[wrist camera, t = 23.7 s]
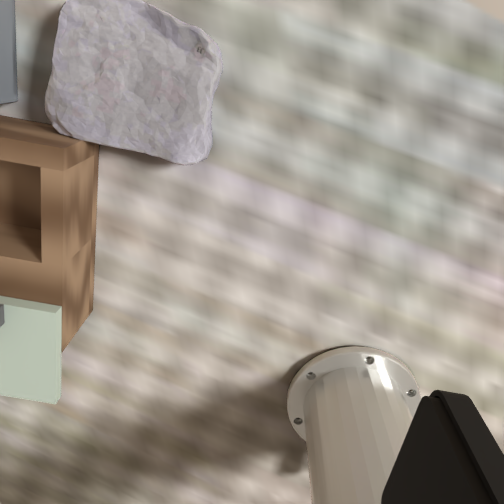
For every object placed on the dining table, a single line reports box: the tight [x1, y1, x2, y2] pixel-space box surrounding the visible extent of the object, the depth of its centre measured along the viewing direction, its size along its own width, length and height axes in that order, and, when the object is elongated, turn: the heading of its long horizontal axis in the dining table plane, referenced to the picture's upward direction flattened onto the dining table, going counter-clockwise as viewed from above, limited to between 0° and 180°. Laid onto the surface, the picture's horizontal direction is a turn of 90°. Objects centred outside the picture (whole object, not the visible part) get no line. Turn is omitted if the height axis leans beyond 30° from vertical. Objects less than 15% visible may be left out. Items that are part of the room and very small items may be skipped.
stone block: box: [45, 0, 223, 165], centre depth 32 cm, size 12×5×10 cm
